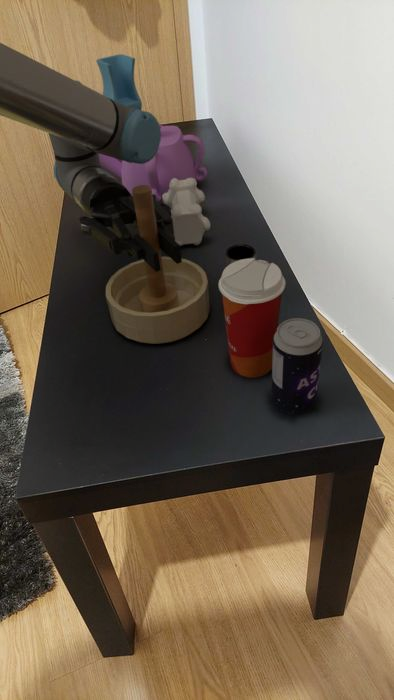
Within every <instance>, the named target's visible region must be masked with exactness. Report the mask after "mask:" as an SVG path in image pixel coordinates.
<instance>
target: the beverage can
mask: <svg viewBox="0 0 394 700" xmlns="http://www.w3.org/2000/svg"><path fill="white" fill-rule="evenodd" d="M323 345H324V339H323V336H322V334H321V329H320V327H319V326H318V325H317V324H316V323H315V322H314V321H312V320H309V319H306V318H298V317H293V318H289V319H285V320H284V321H282V322H281V323H279V324H278V328H277V332H276V333H275V335H274V337H273V361H272V369H271V402H272V403H273V405H274V406H275V407H276V408H277V409H278V410H280V412H283V413H286V414H289V415H301V414H305V413H307V412H309V411H310V410H312V409H313V408H314V406H315V405H316V403H317V399H318V388H319V379H320V372H321V371H320V370H321V362H322V355H323V347H324V346H323Z"/></svg>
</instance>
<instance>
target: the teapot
mask: <svg viewBox="0 0 394 700" xmlns="http://www.w3.org/2000/svg"><path fill="white" fill-rule="evenodd" d="M159 126H160V130H161V141H160V145H159V149H158V151H157V153H156V155H155V156H154V158H153V159H152V160H150V161H149V162H147V163H144V164H138V163H129V162H126V161H123V160H119V159H116V158H113V157H109V156H106V155H103V154H99V159H100V164H101V167H104V168H105V169H106V170H108V171H110V173H113V174H115V175H116V176H117V177H119V178H120V179H121V184H122V185H123V186H124V187H126V189H127V190H128V191H129V192H130V194H131V195H132V196H133V194H132V189H133V188H134V187H136V186H139V185H148V186H150V187H151V189H152V194H154V195H156V200H157V202H158V203H159V204H160V205H166V204H165V203H164V202H163V200H162V195H163V194H164V193H167V192H168V190H169V184H170V181H171V180H172V179H173V178H176V179H178V180H186V179H187V178H194V179H195V180H196V182H200V181H204V180H205V179H206V178H207V175H208V172H207V169H206V168H205V167H204V166H200V165H201V164H202V160H203V158H204V154H205V145H204V142H203V140H202V139H201V138H200V137H199V136H197V135H194V134H185V135H184V133H183V132H182V130H181V128H180V127H178V126H176V125H162V124H161V123H159ZM188 142H193V143H195V144H196V145H197V146H198V152H197V156H196V159H195V162H194V157H193V154H192V151H191V149H190V147H189V144H188ZM199 172H202V174H199Z"/></svg>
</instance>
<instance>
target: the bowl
mask: <svg viewBox="0 0 394 700" xmlns="http://www.w3.org/2000/svg"><path fill="white" fill-rule="evenodd" d="M161 258H162V265H163V272H164V279H165V282H166V283H170V284H172V285H174V286H175V287H176V289H177V293H178V300H179V307H176V308H173V309H170V310H168V311H161V312H154V313H147V312H142V309H141V304H140V299H139V293H140V291H141V290H142V289H143V288H144V287H145V286H147V285H148V281H147V275H146V269H145V263H144V260H143V259H139V260H137V261H134V262H130V263H129V264H127V265H125V266H123V267H121V268H120V269H118V270H117V271H116V272H114V274H112V275H111V277H110V278H109V280H108V282H107V284H106V286H105V298H106V303H107V307H108V311H109V315H110V318H111V322H112V324H113V326H114V328H115V330H116V331H117V333H119V334H120V335H122V336H124V337H125V338H127V339H129V340H132V341H136V342H138V343H142V344H151V345H152V344H153V345H156V344H157V345H159V344H168V343H172V342H176V341H179V340H182V339H183V338H185V337H188V336H189V335H191V334H193V333H194V332H195V331H197V330H198V329H200V328H201V327H202V325H203V324H204V323H205V322H206V321H207V319H208V317H209V314H210V309H211V303H210V291H209V290H210V289H209V281H208V276H207V273H206V271H205V270H204V269H203V268H202V267H201V266H200V265H198V264H197V263H195V262H193V261H191V260H189V259H185V258H182V257H181V260H182V262H181V263H178V264H177V263H176V262H174V261H173V260H172V259H171V258H170V257H169V256H161Z"/></svg>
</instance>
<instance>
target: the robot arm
mask: <svg viewBox="0 0 394 700" xmlns="http://www.w3.org/2000/svg"><path fill="white" fill-rule="evenodd" d="M0 116H1V117H4V118H7V119H10V120H12V121H15V122H18V123H21V124H23V125H25V126H28V127H31V128H34V129H37V130H39V131H42V132H45V133H48V137H49V141H50V143H51V147H52V150H53V155H54V165H53V176H54V178H55V180H56V182H57V184H58V186H59V187H60V188H61V189H62V191H63V192H64V193H65V194H67V195H68V196H69V197H70V198H71V199H72V200H73V201H74V202H75V203H76V204H77V205H78V206H79V207H80V208H81V209H82V210H83V212H85V213H86V215H87V216H83V215H82V216H81V217H79V218H78V219H79V224H80V228H81V231H82V234H83V235H85V236H89V237H92V238H93V239H94V240H96V241H97V242H98V243H99V244H101V245H102V246H103V247H104V248H105V249H107V250H108V251H109V252H111V253H112V254H113V255H115V256H117V255H120V254H122V251H125V252H126V256H127V257H128V258H132V257H134V259H136V260H144V261H145V262H146V263H147V264H148V265H149V266H150V267H151V268H152V269H153V270H154V271H155V272H157V271H160V270H161V268H160V262H159V255H158V252H156V251H155V250H154V249H153V248H152V247H151V246H150V245H149V244H148V243H147V242H146V241H145V240H144V239H143V238H142V237H140V235H139V233H136V234H133V235H132V233H131V231H130V230H129V228H128V227H127V225H129V226H131V227H133V228H134V229H137V228H138V223H137V217H136V211H135V206H134V200H133V196H132V195H131V194H130V192H129V191H128V190H127V189H126V187H124V186H123V185H122V182H120V181H119V180H117V179H116V178H115V177H114V176H113V175H112V174H111V173H109V172H108V171H107V170H105V169H104V168H103V166H102V165H101V164H100V159H99V154H103V155H106V156H109V157H113V158H116V159H117V160H119V161H122V160H123V161H126V162H129V163H138V164H144V163H147V162H149V161H150V160H152V159H153V158H154V156H155V155H156V153H157V151H158V149H159V145H160V141H161V130H160V126H159V124H160V122H159V121H158V119H157V118H156V116H155V115H154V114H153V113H151V112H149V111H147V110H142V109H139V108H135V109H133V108H129V107H126V106H124V105H122V104H120V103H118V102H116V101H114V100H112V99H110V98H107V97H106V96H104V95H103V93H101V92H98V91H96V90H94V89H93V88H90V87H89V86H86V85H85V84H83V83H82V82H81V81H79V80H76V79H73V78H71V77H69V76H67V75H65V74H63V73H61V72H59V71H57V70H55V69H53V68H51V67H50V66H47V65H45V64H43V63H41V62H39V61H37V60H35V59H33V58H32V57H29V56H28V55H25V54H24V53H21V52H20V51H18V50H16V49H14V48H12V47H10V46H8V45H6V44H4V43H2V42H0ZM152 196H153V203H154V210H155V217H156V224H157V231H158V238H159V244H160V251H163V253H165V254H166V255H167V257H170V258H171V259H172V260H173V261H174V262H176V263H177V264H178V263H181V262H182V260H181V258H182V252H181V246H180V245H179V244H178V243H177V242H176V241H175V236H174V235H173V234H174V227H173V219H172V217H171V214H169V213H168V211H167V210H165V209H164V207H163V206H162V204H159V203H158V202H157V200H156V195H154V194H152Z"/></svg>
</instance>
